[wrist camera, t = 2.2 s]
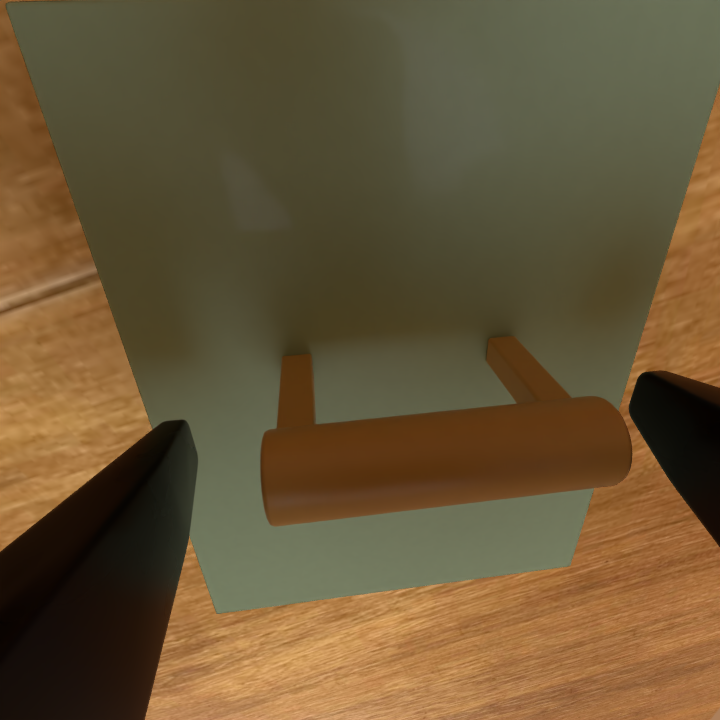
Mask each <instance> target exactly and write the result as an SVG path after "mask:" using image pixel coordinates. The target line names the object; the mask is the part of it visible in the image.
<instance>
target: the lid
mask: <svg viewBox="0 0 720 720" xmlns="http://www.w3.org/2000/svg"><path fill="white" fill-rule="evenodd" d="M6 9H7V12H8V15H9V18H10V21H11V24H12V27H13V29H14V32H15V35H16V38H17V41H18V44H19V47H20V50H21V52H22V55H23V58H24V61H25V64H26V67H27V70H28V73H29V75H30V78H31V81H32V84H33V87H34V90H35V93H36V96H37V98H38V101H39V104H40V107H41V110H42V113H43V116H44V119H45V121H46V124H47V127H48V130H49V133H50V136H51V139H52V142H53V144H54V147H55V150H56V153H57V156H58V159H59V162H60V165H61V167H62V170H63V173H64V176H65V179H66V182H67V185H68V188H69V190H70V193H71V196H72V199H73V202H74V205H75V208H76V211H77V214H78V216H79V219H80V222H81V225H82V228H83V231H84V234H85V237H86V239H87V242H88V245H89V248H90V251H91V254H92V257H93V260H94V262H95V265H96V268H97V271H98V274H99V277H100V280H101V283H102V285H103V288H104V291H105V294H106V297H107V300H108V303H109V306H110V308H111V311H112V314H113V317H114V320H115V323H116V326H117V329H118V331H119V334H120V337H121V340H122V343H123V346H124V349H125V352H126V354H127V357H128V360H129V363H130V366H131V369H132V372H133V375H134V377H135V380H136V383H137V386H138V389H139V392H140V395H141V398H142V401H143V403H144V406H145V409H146V412H147V415H148V418H149V421H150V424H151V426H152V429H154V428H155V427H156V426H158V425H159V424H160V423H162V422H164V421H170V420H180V419H184V420H186V421H187V422H188V424H189V426H190V430H191V433H192V436H193V440H194V443H195V447H196V450H197V454H198V469H197V478H196V486H195V494H194V502H193V511H192V519H191V527H190V534H189V536H190V539H191V541H192V544H193V547H194V550H195V553H196V556H197V559H198V562H199V564H200V567H201V570H202V573H203V576H204V579H205V582H206V585H207V588H208V590H209V593H210V596H211V599H212V602H213V605H214V608H215V611H216V613H217V614H220V613H227V612H235V611H242V610H250V609H257V608H264V607H272V606H279V605H287V604H294V603H301V602H309V601H316V600H324V599H331V598H338V597H346V596H353V595H361V594H368V593H375V592H383V591H390V590H398V589H405V588H412V587H420V586H427V585H435V584H442V583H449V582H457V581H464V580H472V579H479V578H486V577H494V576H501V575H509V574H516V573H523V572H531V571H538V570H546V569H553V568H560V567H568V566H570V565H571V561H572V558H573V555H574V552H575V548H576V545H577V542H578V539H579V536H580V532H581V529H582V526H583V523H584V519H585V516H586V513H587V510H588V507H589V503H590V500H591V497H592V494H593V490H594V488H599V487H608V486H614V485H617V484H618V483H620V482H621V481H623V480H624V479H625V478H626V476H627V475H628V473H629V471H630V467H631V463H632V445H631V439H630V435H629V432H628V429H627V426H626V424H625V422H624V420H623V418H622V416H621V414H620V413H619V411H618V410H619V407H620V403H621V400H622V397H623V394H624V390H625V387H626V384H627V381H628V378H629V374H630V371H631V368H632V365H633V361H634V358H635V355H636V352H637V349H638V345H639V342H640V339H641V336H642V332H643V329H644V326H645V323H646V320H647V316H648V313H649V310H650V307H651V303H652V300H653V297H654V294H655V291H656V287H657V284H658V281H659V278H660V274H661V271H662V268H663V265H664V262H665V258H666V255H667V252H668V249H669V245H670V242H671V239H672V236H673V233H674V229H675V226H676V223H677V220H678V216H679V213H680V210H681V207H682V204H683V200H684V197H685V194H686V191H687V187H688V184H689V181H690V178H691V175H692V171H693V168H694V165H695V162H696V158H697V155H698V152H699V149H700V146H701V142H702V139H703V136H704V133H705V129H706V126H707V123H708V120H709V117H710V113H711V110H712V107H713V104H714V100H715V97H716V94H717V91H718V88H719V84H720V0H57V1H19V2H8V3H6Z"/></svg>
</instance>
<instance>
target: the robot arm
mask: <svg viewBox="0 0 720 720" xmlns="http://www.w3.org/2000/svg"><path fill="white" fill-rule="evenodd" d="M629 413H630V416H631V418H632V420H633V422H634V423H635V425H636V426H637V428H638V430H639V431H640V433H641V435H642V436H643V438H644V440H645V441H646V443H647V444H648V446H649V448H650V449H651V451H652V453H653V454H654V456H655V458H656V459H657V461H658V462H659V464H660V466H661V467H662V469H663V471H664V472H665V474H666V475H667V477H668V478H669V480H670V481H671V483H672V484H673V485H674V487H675V488H676V490H677V491H678V492H679V494H680V495H681V496H682V498H683V499H684V500H685V502H686V503H687V504H688V506H689V507H690V508H691V510H692V511H693V512H694V513H695V515H696V516H697V517H698V519H699V520H700V521H701V523H702V524H703V525H704V527H705V528H706V529H707V531H708V532H709V533H710V535H711V536H712V537H713V539H714V540H715V541H716V543H717V544H718V545H719V547H720V388H718V387H715V386H712V385H709V384H705V383H702V382H699V381H696V380H693V379H690V378H686V377H683V376H680V375H677V374H674V373H670V372H667V371H661V370H660V371H651V372H644V373H642V374H641V375H640V376H639V377H638V379H637V382H636V385H635V388H634V391H633V394H632V397H631V400H630V404H629ZM197 469H198V454H197V450H196V447H195V443H194V440H193V436H192V433H191V430H190V426H189V424H188V422H187V421H186V420H184V419H180V420H170V421H164V422H162V423H160V424H159V425H158V426H156V427H155V428H154V429H153V430H151V431H150V432H149V433H148V434H146V435H145V436H144V437H143V438H141V439H140V440H139V441H138V442H137V443H135V444H134V445H133V446H132V447H130V448H129V449H128V450H127V451H125V452H124V453H123V454H122V455H120V456H119V457H118V458H117V459H115V460H114V461H113V462H112V463H110V464H109V465H108V466H107V467H105V468H104V469H103V470H102V471H100V472H99V473H98V474H97V475H95V476H94V477H93V478H92V479H90V480H89V481H88V482H87V483H85V484H84V485H83V486H82V487H80V488H79V489H78V490H77V491H75V492H74V493H73V494H72V495H70V496H69V497H68V498H67V499H65V500H64V501H63V502H62V503H60V504H59V505H58V506H57V507H56V508H54V509H53V510H52V511H51V512H49V513H48V514H47V515H46V516H44V517H43V518H42V519H41V520H39V521H38V522H37V523H36V524H34V525H33V526H32V527H31V528H29V529H28V530H27V531H26V532H24V533H23V534H22V535H21V536H19V537H18V538H17V539H16V540H14V541H13V542H12V543H11V544H9V545H8V546H7V547H6V548H4V549H3V550H2V551H1V552H0V720H145V716H146V712H147V708H148V704H149V700H150V696H151V692H152V688H153V684H154V680H155V676H156V671H157V667H158V663H159V659H160V655H161V651H162V647H163V643H164V639H165V635H166V631H167V627H168V623H169V619H170V615H171V610H172V606H173V602H174V598H175V594H176V590H177V586H178V582H179V578H180V574H181V570H182V566H183V562H184V558H185V554H186V549H187V545H188V540H189V534H190V527H191V519H192V511H193V502H194V494H195V486H196V478H197Z"/></svg>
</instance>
